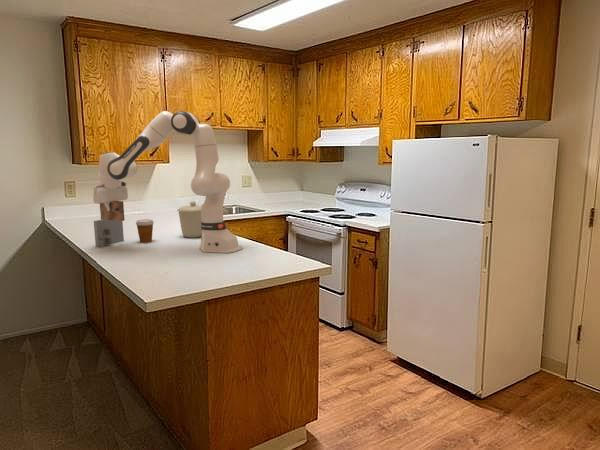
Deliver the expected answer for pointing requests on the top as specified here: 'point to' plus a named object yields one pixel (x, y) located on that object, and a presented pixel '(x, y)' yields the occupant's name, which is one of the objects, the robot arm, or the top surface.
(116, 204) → the walnut door
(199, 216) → the canister
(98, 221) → the cabinet side
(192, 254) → the top surface
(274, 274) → the top surface
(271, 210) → the top surface
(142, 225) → the disposable coffee cup
